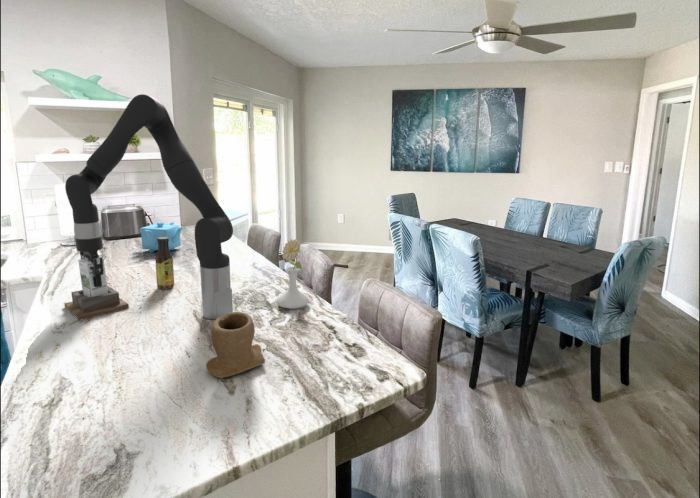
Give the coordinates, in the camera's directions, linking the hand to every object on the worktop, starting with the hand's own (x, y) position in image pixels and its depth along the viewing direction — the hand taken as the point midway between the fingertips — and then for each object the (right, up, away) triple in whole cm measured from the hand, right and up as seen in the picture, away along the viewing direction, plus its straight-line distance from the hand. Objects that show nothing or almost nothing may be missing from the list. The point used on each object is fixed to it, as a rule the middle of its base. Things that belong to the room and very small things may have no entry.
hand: (94, 284), depth 145 cm
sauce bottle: (+14, -3, +24) cm, 28 cm away
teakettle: (-10, +11, +77) cm, 78 cm away
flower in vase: (+66, -9, +8) cm, 67 cm away
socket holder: (0, -8, +2) cm, 9 cm away
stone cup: (+57, -19, -34) cm, 69 cm away
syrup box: (0, -6, +1) cm, 6 cm away
